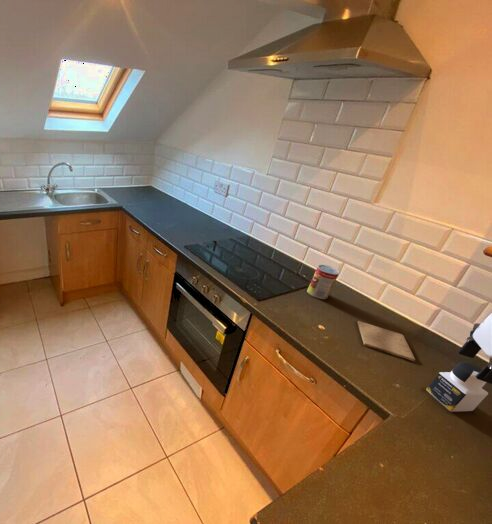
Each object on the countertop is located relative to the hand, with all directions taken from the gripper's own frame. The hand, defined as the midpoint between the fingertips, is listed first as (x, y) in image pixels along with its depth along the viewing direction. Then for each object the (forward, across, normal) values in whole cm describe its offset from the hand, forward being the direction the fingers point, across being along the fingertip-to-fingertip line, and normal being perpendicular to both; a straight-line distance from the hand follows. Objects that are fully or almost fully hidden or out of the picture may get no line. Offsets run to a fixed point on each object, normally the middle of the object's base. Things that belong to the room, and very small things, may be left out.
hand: (473, 367), depth 77 cm
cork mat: (+13, +21, +10) cm, 27 cm away
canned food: (+13, +42, +30) cm, 53 cm away
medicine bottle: (+13, 0, -1) cm, 13 cm away
